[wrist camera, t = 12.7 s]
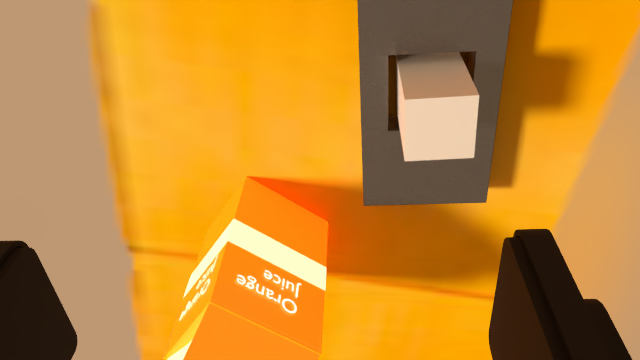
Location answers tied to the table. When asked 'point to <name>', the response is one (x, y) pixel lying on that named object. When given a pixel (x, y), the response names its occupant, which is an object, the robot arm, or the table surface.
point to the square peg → (436, 106)
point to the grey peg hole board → (382, 130)
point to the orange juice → (255, 283)
